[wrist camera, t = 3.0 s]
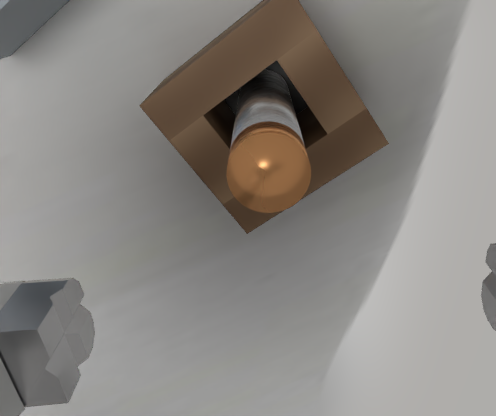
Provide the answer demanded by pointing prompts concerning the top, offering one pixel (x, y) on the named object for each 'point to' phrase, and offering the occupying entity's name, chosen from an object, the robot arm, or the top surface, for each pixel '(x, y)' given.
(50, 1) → the dock
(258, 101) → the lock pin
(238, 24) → the mount
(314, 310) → the top surface
